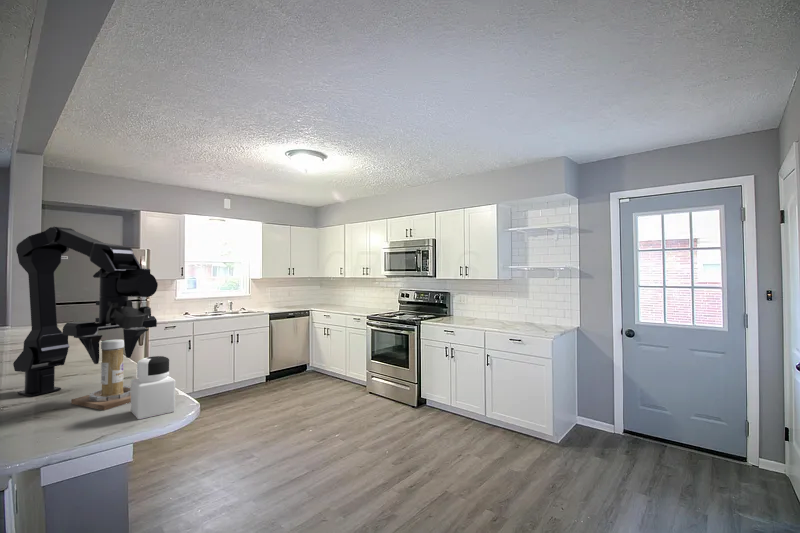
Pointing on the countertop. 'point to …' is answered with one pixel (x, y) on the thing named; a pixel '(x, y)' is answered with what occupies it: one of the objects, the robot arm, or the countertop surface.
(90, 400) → the display stand
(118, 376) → the sprinkles bottle
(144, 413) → the medicine bottle
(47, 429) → the countertop surface
